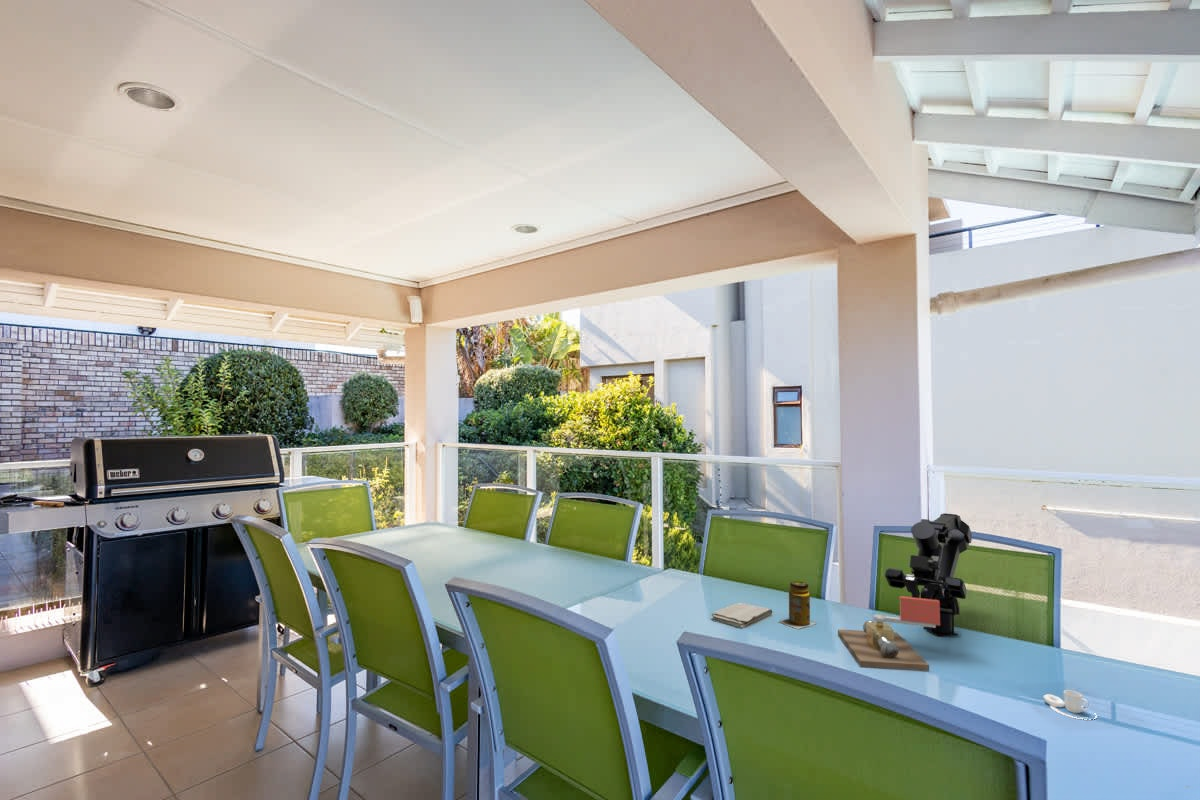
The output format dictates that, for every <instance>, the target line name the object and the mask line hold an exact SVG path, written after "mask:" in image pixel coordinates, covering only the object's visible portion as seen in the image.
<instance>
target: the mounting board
mask: <svg viewBox="0 0 1200 800" xmlns="http://www.w3.org/2000/svg"><path fill="white" fill-rule="evenodd" d="M837 635H838V637H839V638H840V640H841V641H842V643H843V644H844V645H845V647H846V648H847V650H848V651H849V652H850V654H851V655H852V657H853V658H854V660H855V661H856V662H857V664H858V666H859V665H860V666H859V667H860V668H869V667H870V669H871V668H873V669H887V670H892V669H893V670H904V671H905V670H906V671H907V670H908V671H920V672H922V671H923V672H930V664H929V663H928V662H927V661H926V660H925V659H924V658H923V657H922V656H921V655H920V654H919V653H918V652H917V651H916V650H915V648H913V647H912V646H911V645H910V644H909V642H907V641H906V640H905V639H904V638H903V637H902V635H900V634H899V633H898V632H895V631H894V643H895V644H896V645H897V647H898V649H899V652H898V654H897V656H896V657H894V658H888V657H886V656H885V655H884V654H882V653H881V652H880V651H879V650H875V649H872V648H871V646H870V645H869V644H868V643H867V641H866V633H865V632H864V630H857V629H856V630H855V629H852V630H851V629H837Z"/></svg>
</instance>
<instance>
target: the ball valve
mask: <svg viewBox="0 0 1200 800" xmlns="http://www.w3.org/2000/svg"><path fill="white" fill-rule="evenodd" d="M862 629H863V630H862V631H864V632H865V633H866V641H867V643H868V644H869V645H870V646H871V648H872V649H875V650H879V651H880V652H881V653H882V654H884V655H885V656H886V657H888V658H894V657H896V656H897V654H898V652H899V649H898V647H897V645H896V644H895V643H894V632H895V631H894V629H893V628H892V627H891V626H890V625H889V624H888V622H877V621H874V620H867V621H865V622H864V623H863V625H862Z"/></svg>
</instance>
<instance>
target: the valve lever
mask: <svg viewBox="0 0 1200 800" xmlns="http://www.w3.org/2000/svg"><path fill="white" fill-rule="evenodd" d="M873 621H874V622H876V621H877V622H883V623H894V624H901V625H908V626H909V625H910V626H917V627H918V626H919V627H933V628H936V625H939V626H940V602H939V600H932V599H923V598H921V597H919V598H913V597H912V596H902V595H900V596H899V617H896V616H889V615H883V614H880V613H875V614H873Z"/></svg>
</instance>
